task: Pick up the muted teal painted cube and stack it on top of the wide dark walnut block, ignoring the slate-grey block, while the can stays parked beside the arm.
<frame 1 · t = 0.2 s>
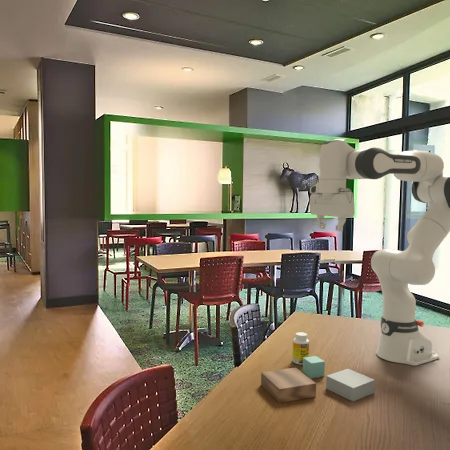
hand: (330, 229, 146), 47 cm above the table, fingers open, 8 cm apart
walnut block: (287, 390, 131), on the table
supplement bottle: (300, 362, 153), on the table
teal cube: (313, 374, 144), on the table
slate block: (349, 390, 132), on the table
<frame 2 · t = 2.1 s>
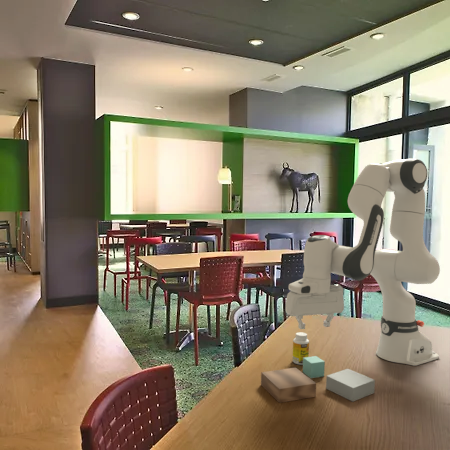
hand: (314, 327, 142), 16 cm above the table, fingers open, 8 cm apart
nothing on the table moved.
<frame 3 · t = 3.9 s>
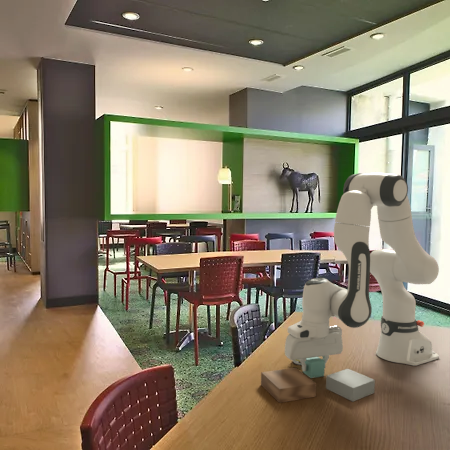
hand: (313, 369, 144), 2 cm above the table, fingers closed on teal cube, 5 cm apart
teal cube: (313, 374, 144), on the table, touching gripper
everything else where it was.
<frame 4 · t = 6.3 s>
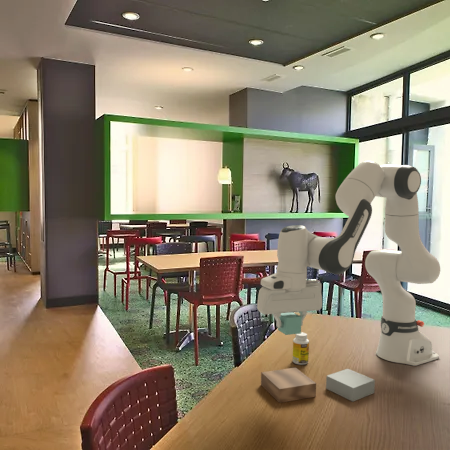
hand: (289, 326, 130), 20 cm above the table, fingers closed on teal cube, 5 cm apart
teal cube: (289, 331, 130), point 18 cm above the table, touching gripper
everything else where it was.
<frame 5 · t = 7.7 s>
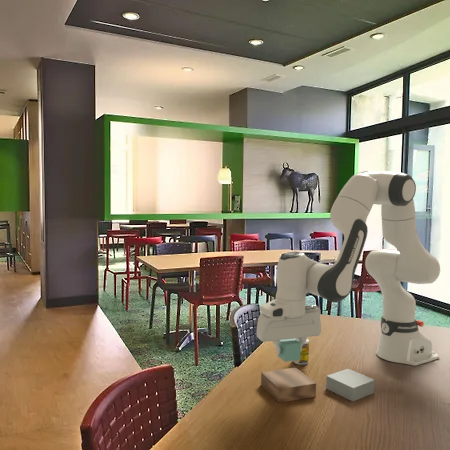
hand: (288, 352, 130), 12 cm above the table, fingers closed on teal cube, 5 cm apart
teal cube: (288, 357, 130), point 10 cm above the table, touching gripper
everything else where it was.
when the fingers open (7 cm above the table, at t = 9.0 s): teal cube drops 1 cm, resting on walnut block.
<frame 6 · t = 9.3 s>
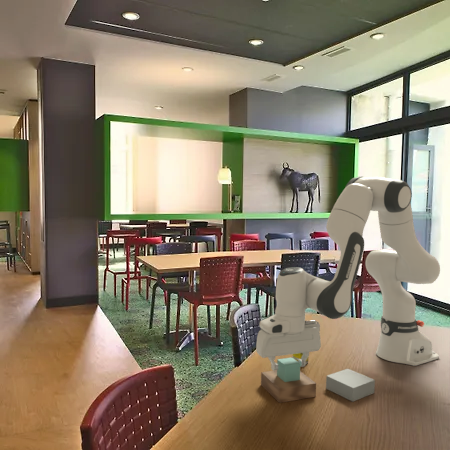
hand: (288, 367, 131), 7 cm above the table, fingers open, 8 cm apart
teal cube: (288, 377, 131), point 4 cm above the table, touching walnut block
everything else where it was.
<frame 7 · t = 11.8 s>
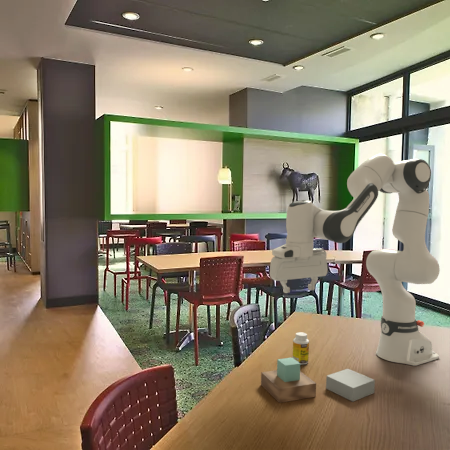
hand: (299, 291, 145), 27 cm above the table, fingers open, 8 cm apart
nothing on the table moved.
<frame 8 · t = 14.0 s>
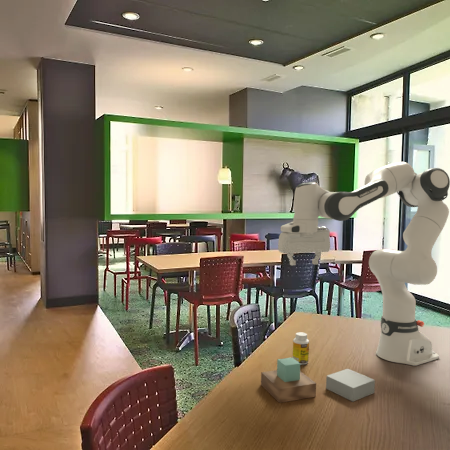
hand: (304, 264, 160), 33 cm above the table, fingers open, 8 cm apart
nothing on the table moved.
at the end: teal cube inside the target area on the walnut block (0.1 cm from its centre), point 4.0 cm above the walnut block's base; teal cube tilted 0°; the gripper is holding nothing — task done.
